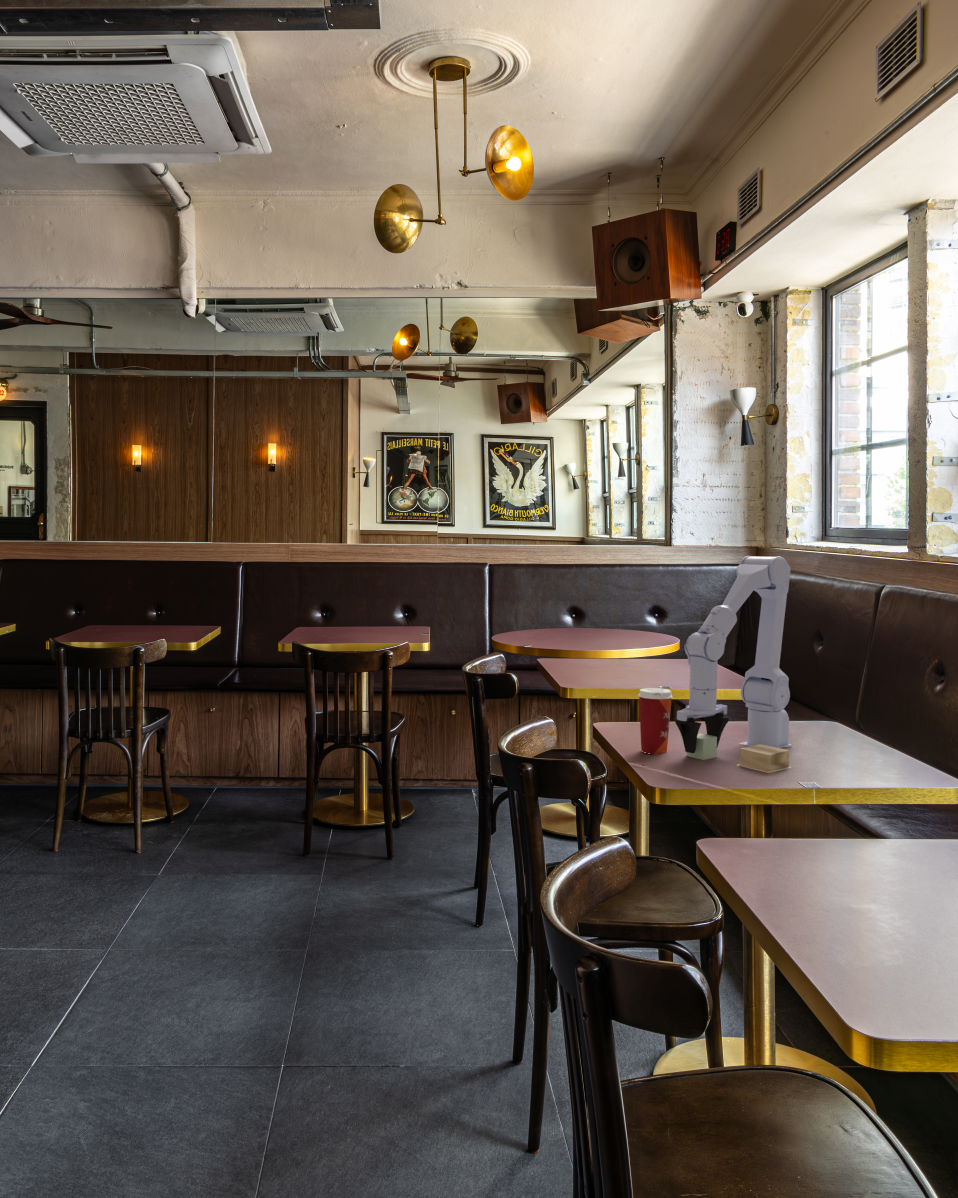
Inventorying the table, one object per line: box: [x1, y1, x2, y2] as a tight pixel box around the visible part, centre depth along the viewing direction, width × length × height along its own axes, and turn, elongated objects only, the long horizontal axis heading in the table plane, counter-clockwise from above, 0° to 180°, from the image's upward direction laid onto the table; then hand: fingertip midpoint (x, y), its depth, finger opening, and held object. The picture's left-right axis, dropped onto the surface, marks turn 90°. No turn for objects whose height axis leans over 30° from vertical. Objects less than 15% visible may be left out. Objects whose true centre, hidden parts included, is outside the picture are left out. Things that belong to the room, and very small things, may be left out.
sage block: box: [685, 732, 718, 761], centre depth 189 cm, size 4×4×5 cm
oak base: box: [739, 744, 790, 773], centre depth 181 cm, size 7×7×4 cm
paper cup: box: [637, 687, 674, 755], centre depth 195 cm, size 8×8×14 cm
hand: (701, 750), depth 189 cm, fingers open, 7 cm apart
